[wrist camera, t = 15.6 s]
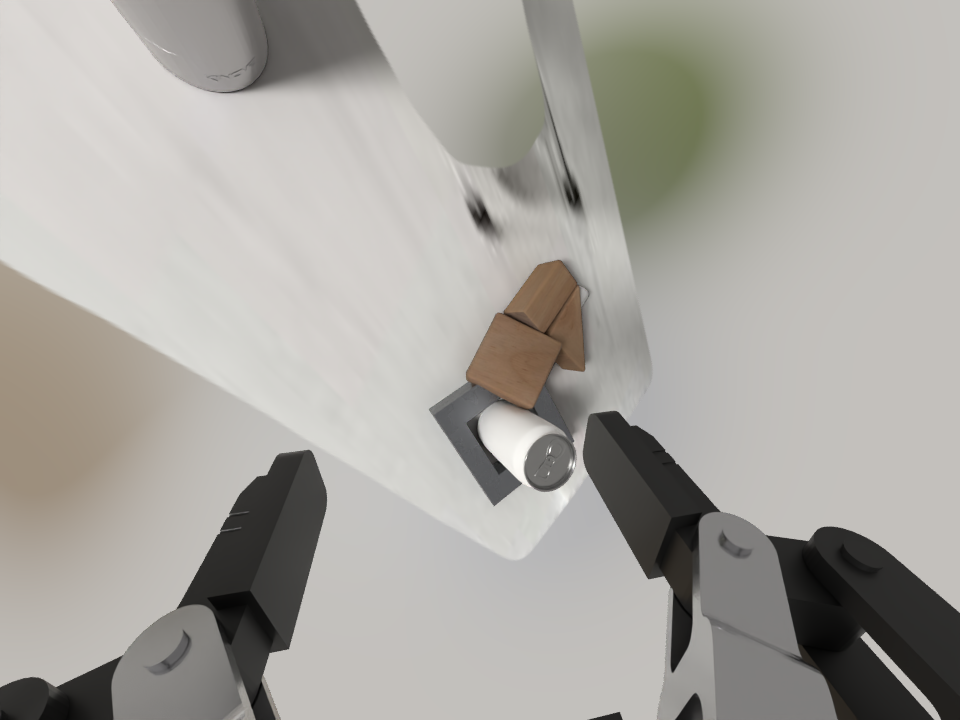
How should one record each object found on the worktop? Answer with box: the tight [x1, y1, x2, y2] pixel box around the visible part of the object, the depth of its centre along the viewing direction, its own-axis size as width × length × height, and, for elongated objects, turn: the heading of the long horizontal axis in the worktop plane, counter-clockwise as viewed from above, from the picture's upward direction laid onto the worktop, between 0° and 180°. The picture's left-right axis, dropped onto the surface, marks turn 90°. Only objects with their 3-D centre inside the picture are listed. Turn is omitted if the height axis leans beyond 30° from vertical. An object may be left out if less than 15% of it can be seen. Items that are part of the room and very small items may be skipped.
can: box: [477, 401, 576, 492], centre depth 37 cm, size 6×6×12 cm
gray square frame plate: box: [429, 382, 574, 506], centre depth 42 cm, size 14×13×2 cm
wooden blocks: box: [466, 260, 589, 410], centre depth 41 cm, size 8×13×18 cm
